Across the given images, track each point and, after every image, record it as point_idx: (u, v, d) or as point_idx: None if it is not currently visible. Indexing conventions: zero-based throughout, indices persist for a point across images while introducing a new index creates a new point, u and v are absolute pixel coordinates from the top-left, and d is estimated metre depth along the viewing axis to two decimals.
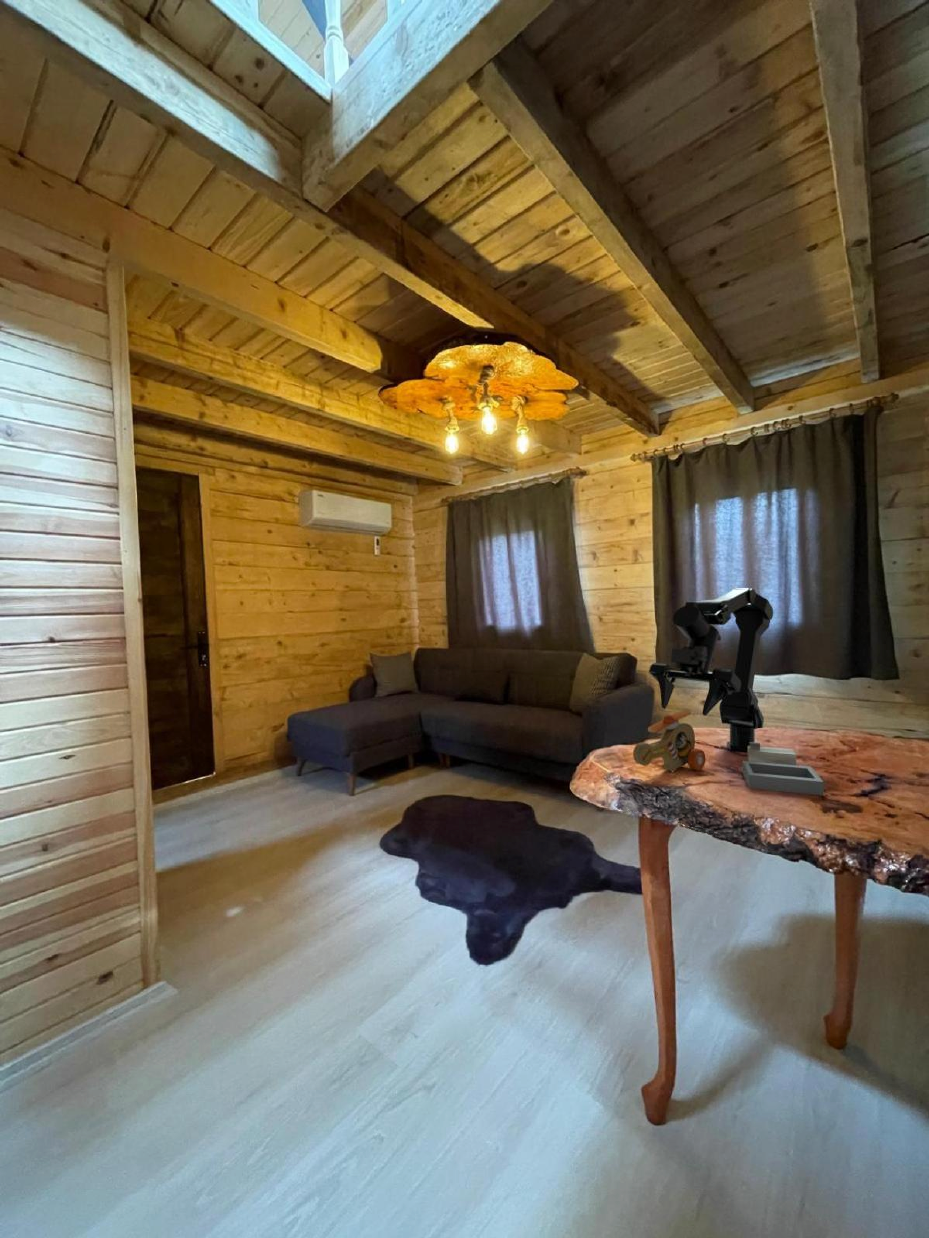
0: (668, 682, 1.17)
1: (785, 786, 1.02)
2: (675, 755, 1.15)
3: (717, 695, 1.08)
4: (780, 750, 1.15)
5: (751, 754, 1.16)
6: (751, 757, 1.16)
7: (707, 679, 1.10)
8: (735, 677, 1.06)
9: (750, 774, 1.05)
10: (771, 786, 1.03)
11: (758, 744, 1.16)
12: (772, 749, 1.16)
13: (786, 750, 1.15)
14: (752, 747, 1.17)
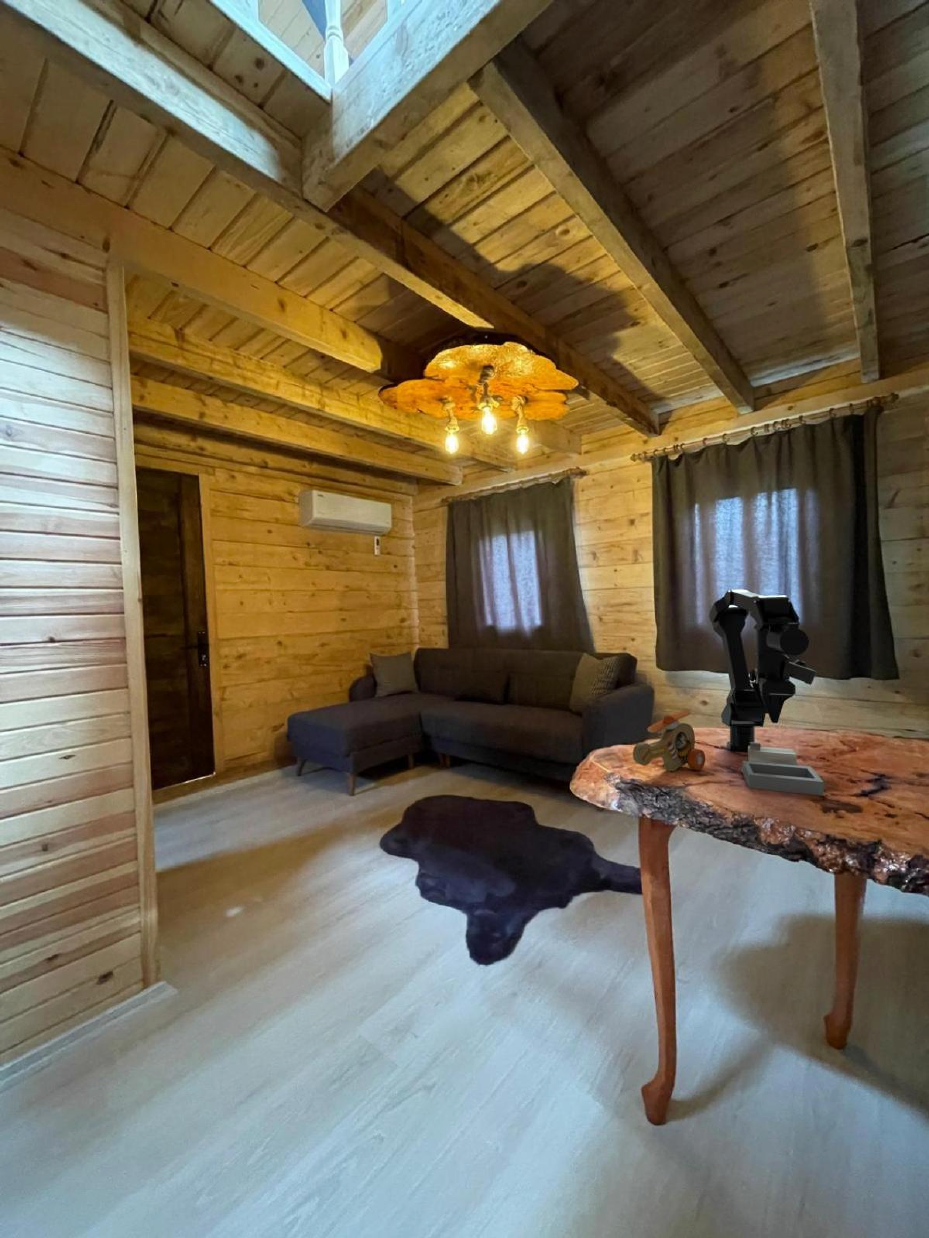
0: None
1: (785, 786, 1.02)
2: (675, 755, 1.15)
3: None
4: (780, 750, 1.15)
5: (751, 754, 1.16)
6: (751, 757, 1.16)
7: None
8: None
9: (750, 774, 1.05)
10: (771, 786, 1.03)
11: (758, 744, 1.16)
12: (772, 749, 1.16)
13: (786, 750, 1.15)
14: (752, 747, 1.17)
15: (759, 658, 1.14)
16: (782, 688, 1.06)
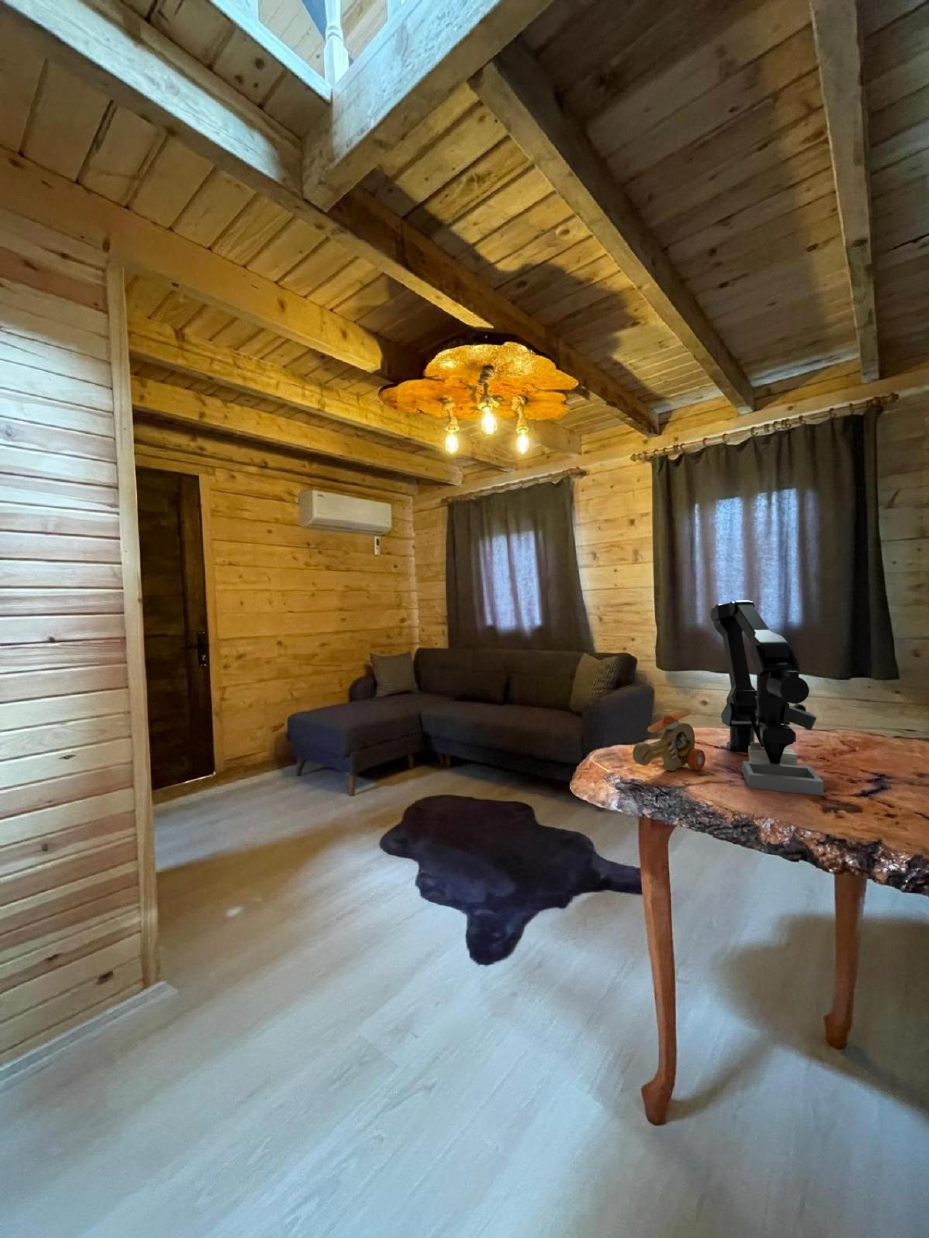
0: None
1: (785, 786, 1.02)
2: (675, 755, 1.15)
3: None
4: None
5: (752, 754, 1.16)
6: (752, 757, 1.16)
7: None
8: None
9: (750, 774, 1.05)
10: (771, 786, 1.03)
11: (759, 744, 1.16)
12: None
13: (787, 750, 1.15)
14: (753, 747, 1.17)
15: (759, 702, 1.14)
16: (782, 735, 1.07)
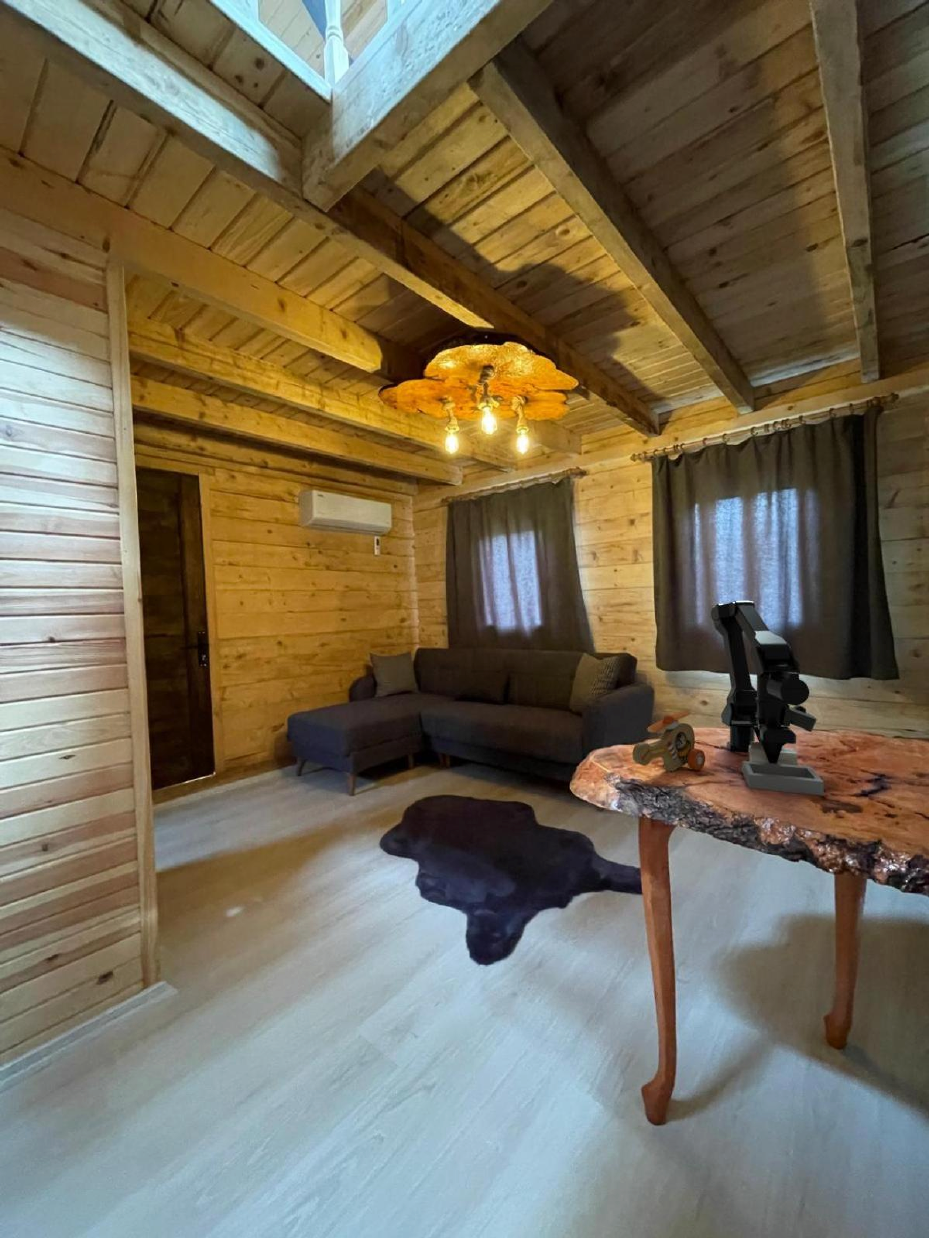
0: None
1: (785, 786, 1.02)
2: (675, 755, 1.15)
3: None
4: (781, 749, 1.15)
5: (752, 753, 1.15)
6: (752, 756, 1.15)
7: None
8: None
9: (750, 774, 1.05)
10: (771, 786, 1.03)
11: (759, 743, 1.16)
12: None
13: (787, 749, 1.15)
14: (753, 746, 1.17)
15: (759, 704, 1.14)
16: (783, 737, 1.07)
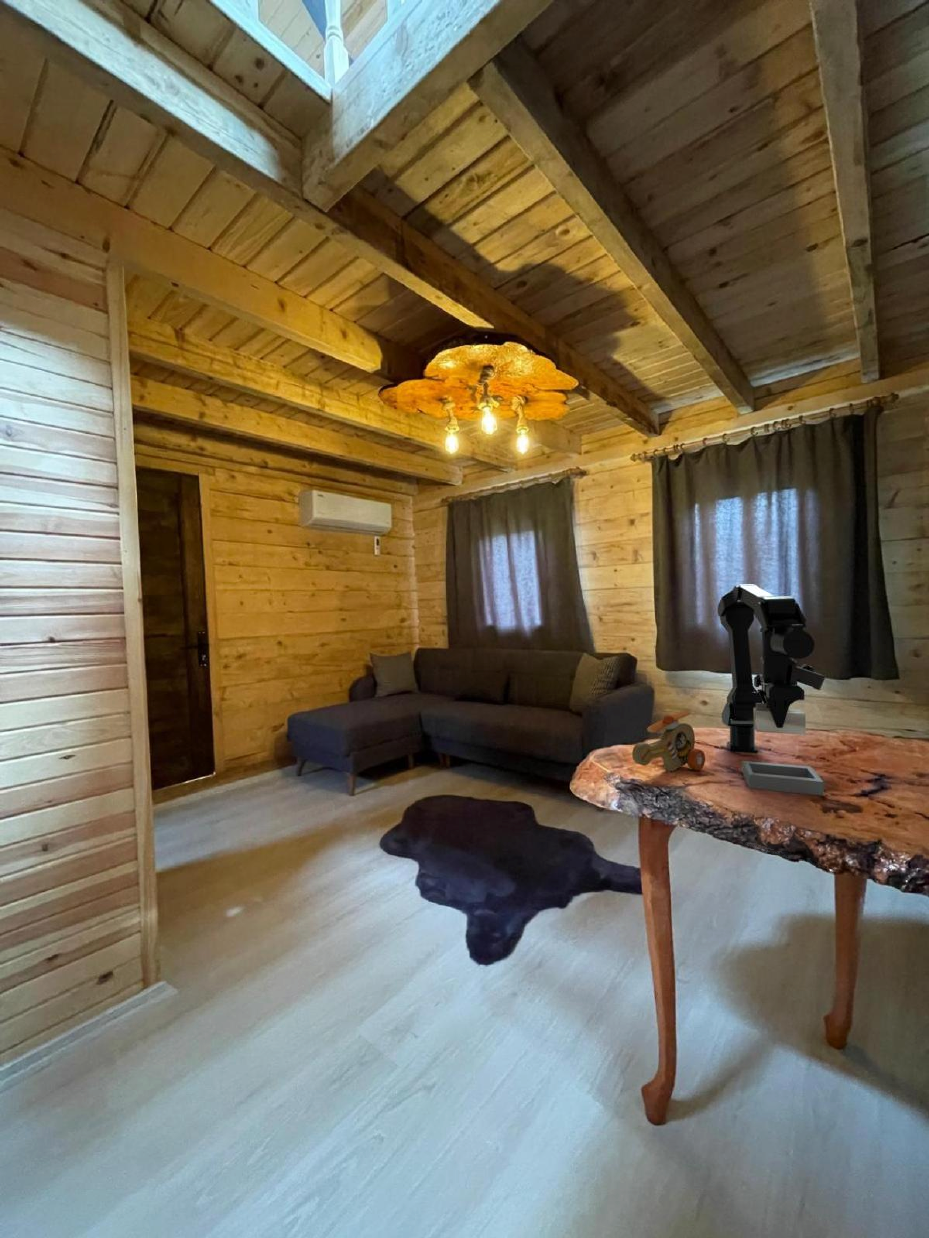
0: None
1: (785, 786, 1.02)
2: (674, 755, 1.15)
3: None
4: (788, 710, 1.09)
5: (758, 715, 1.09)
6: (758, 718, 1.09)
7: None
8: None
9: (750, 774, 1.05)
10: (771, 786, 1.03)
11: (765, 704, 1.10)
12: None
13: (794, 710, 1.09)
14: (758, 708, 1.11)
15: (765, 662, 1.08)
16: (790, 693, 1.01)
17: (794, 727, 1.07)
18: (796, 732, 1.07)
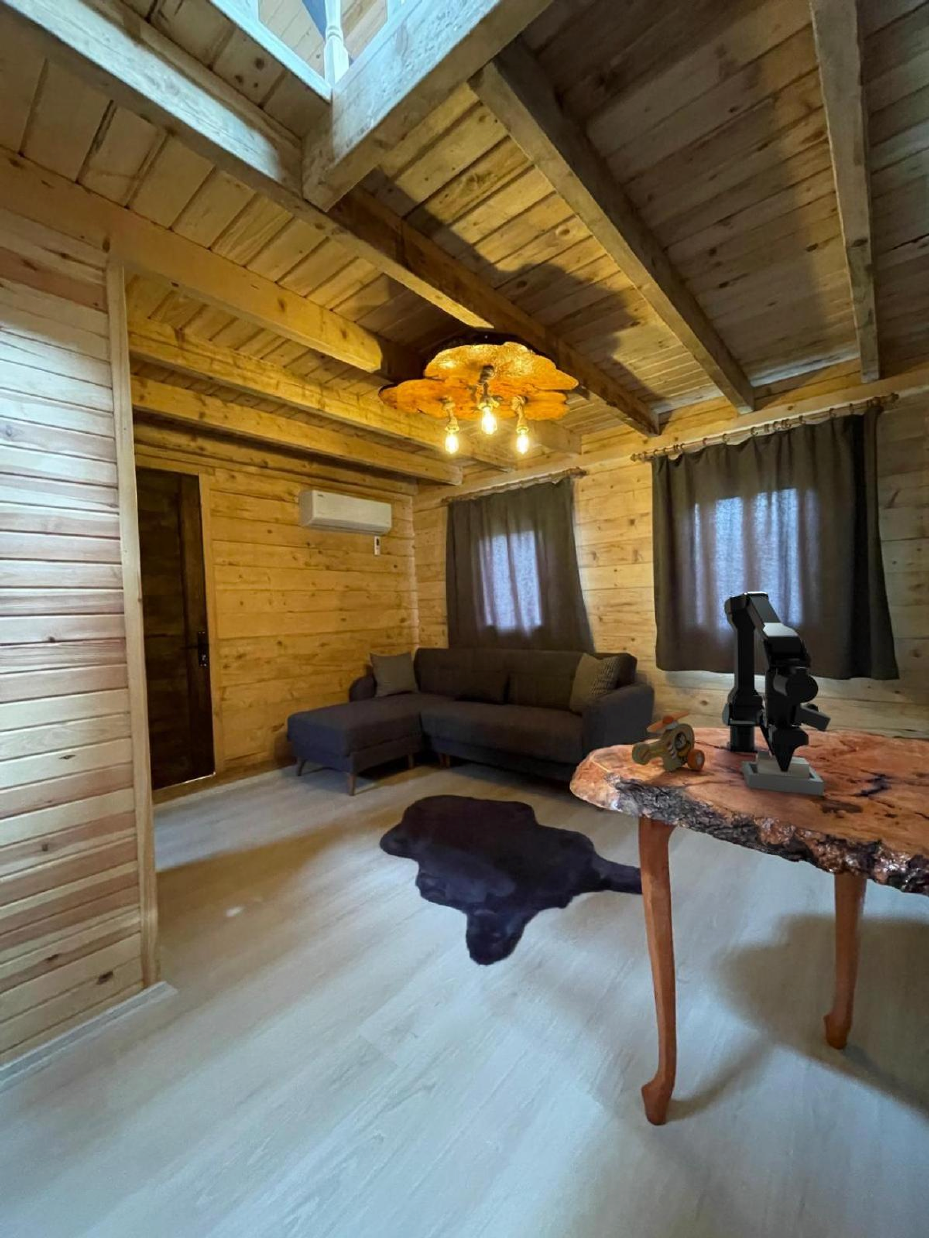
0: None
1: (785, 786, 1.02)
2: (674, 755, 1.15)
3: None
4: (791, 759, 1.06)
5: (760, 763, 1.06)
6: (760, 767, 1.06)
7: None
8: None
9: (750, 774, 1.05)
10: (771, 786, 1.03)
11: (767, 753, 1.07)
12: None
13: (798, 759, 1.06)
14: (761, 756, 1.07)
15: (768, 701, 1.05)
16: (794, 738, 0.97)
17: None
18: None
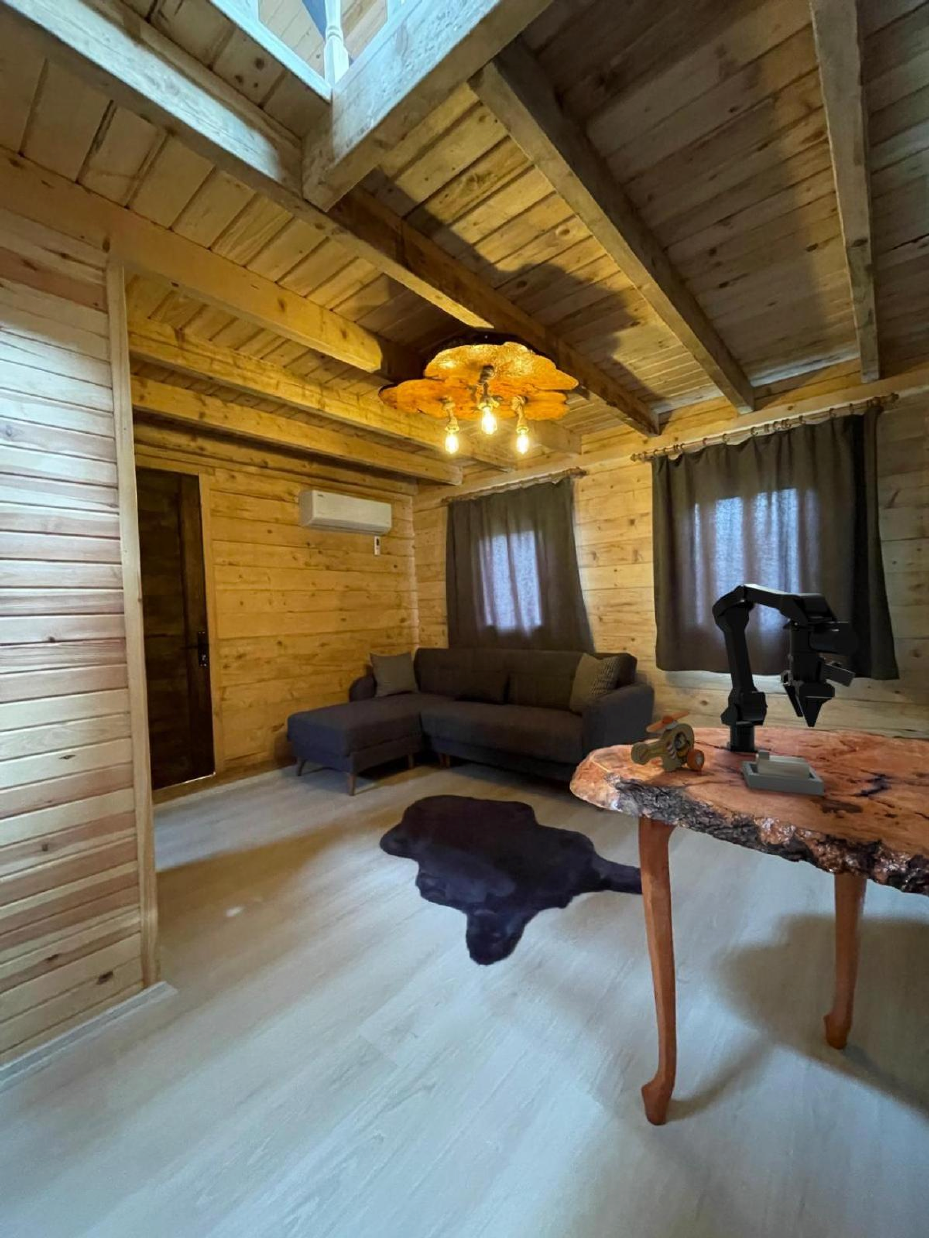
0: None
1: (785, 786, 1.02)
2: (674, 755, 1.15)
3: None
4: (791, 759, 1.06)
5: (760, 763, 1.06)
6: (760, 767, 1.06)
7: None
8: None
9: (750, 774, 1.05)
10: (771, 786, 1.03)
11: (767, 753, 1.07)
12: (783, 758, 1.07)
13: (798, 759, 1.06)
14: (761, 756, 1.07)
15: (794, 659, 1.09)
16: (821, 691, 1.01)
17: None
18: None
